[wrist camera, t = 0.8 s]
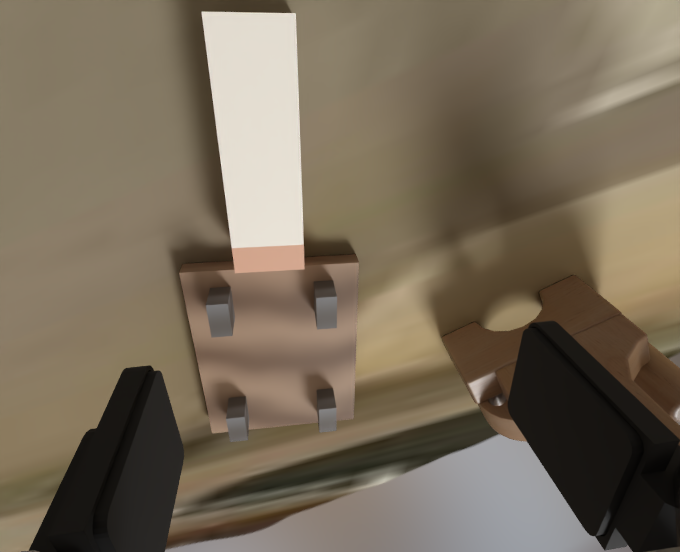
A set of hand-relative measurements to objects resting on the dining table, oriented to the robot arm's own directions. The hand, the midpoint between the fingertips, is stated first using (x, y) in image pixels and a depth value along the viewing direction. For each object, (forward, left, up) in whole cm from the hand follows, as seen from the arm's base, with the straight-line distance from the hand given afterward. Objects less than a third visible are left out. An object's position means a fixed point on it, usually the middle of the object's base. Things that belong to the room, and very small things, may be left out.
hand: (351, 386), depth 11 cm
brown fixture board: (+17, -3, -23) cm, 29 cm away
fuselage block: (-1, -3, -23) cm, 24 cm away
